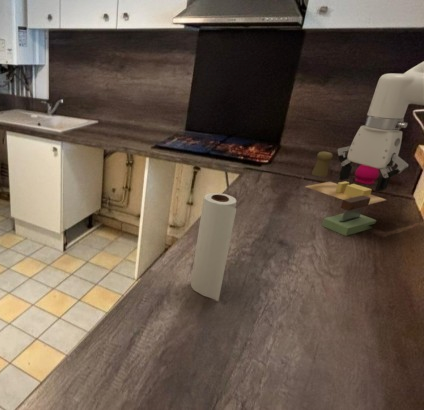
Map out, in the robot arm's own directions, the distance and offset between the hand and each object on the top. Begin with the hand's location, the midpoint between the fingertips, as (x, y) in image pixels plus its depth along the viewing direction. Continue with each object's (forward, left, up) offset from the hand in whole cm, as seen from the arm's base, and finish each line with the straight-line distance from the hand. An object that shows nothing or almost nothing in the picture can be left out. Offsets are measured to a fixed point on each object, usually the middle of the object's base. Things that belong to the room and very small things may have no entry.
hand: (360, 184), depth 101 cm
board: (+16, -23, -13) cm, 31 cm away
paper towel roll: (-7, +60, -14) cm, 62 cm away
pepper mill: (+21, -43, -14) cm, 50 cm away
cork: (+33, -34, -14) cm, 49 cm away
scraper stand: (0, 0, -13) cm, 13 cm away
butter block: (+12, -23, -12) cm, 29 cm away
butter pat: (+17, -23, -12) cm, 31 cm away
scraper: (0, 0, -13) cm, 13 cm away
